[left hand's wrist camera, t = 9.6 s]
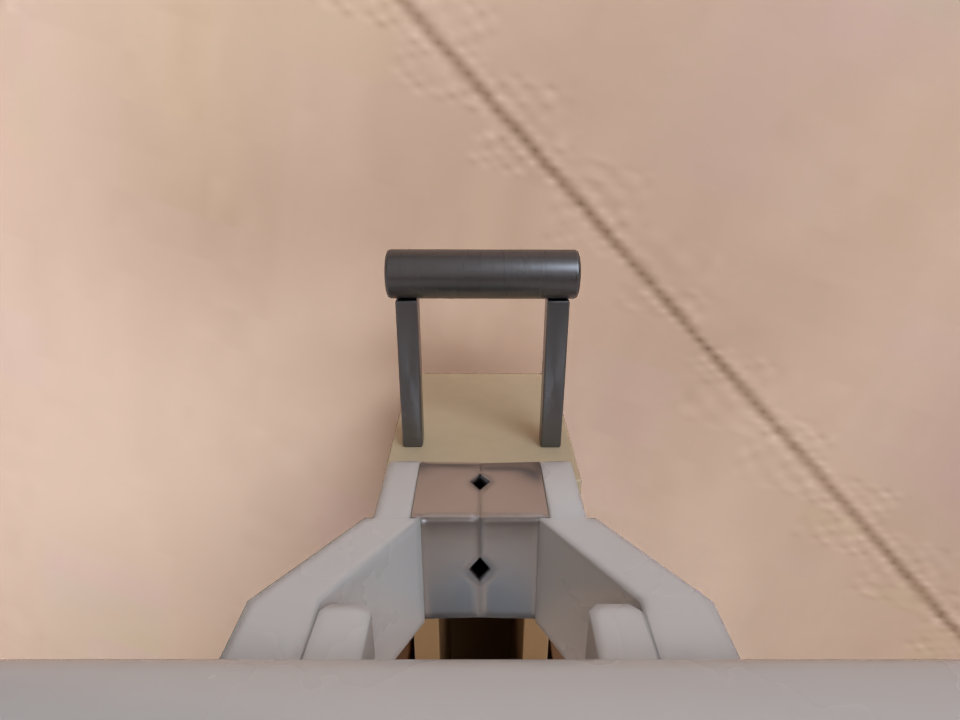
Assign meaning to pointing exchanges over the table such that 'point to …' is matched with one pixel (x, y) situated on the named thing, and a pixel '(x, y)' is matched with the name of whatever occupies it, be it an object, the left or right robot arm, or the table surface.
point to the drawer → (482, 403)
